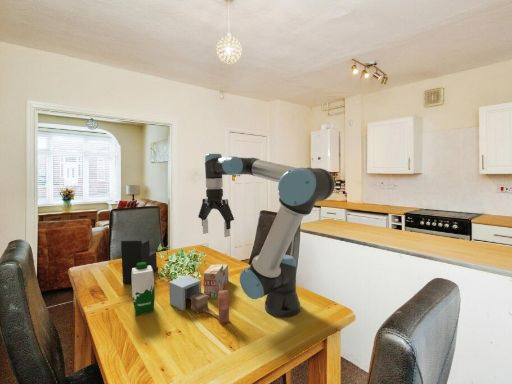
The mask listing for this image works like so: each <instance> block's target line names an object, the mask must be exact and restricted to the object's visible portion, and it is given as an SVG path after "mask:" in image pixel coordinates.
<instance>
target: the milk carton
mask: <svg viewBox="0 0 512 384" xmlns="http://www.w3.org/2000/svg"><path fill="white" fill-rule="evenodd" d="M154 276H155V274H154V273H153V269H152V267H151V265H149V266H147V263H146V262H139V263H137V267H135V268H132V277H131V278H132V284H131V294H132V295H131V296H132V305H133V307H134V308H133V309H134V313H135V315H136V316H140V315H143V314H147V313H152V312H154V311H155V298H156V297H155V296H156V295H155V277H154Z"/></svg>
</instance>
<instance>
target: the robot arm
mask: <svg viewBox="0 0 512 384" xmlns="http://www.w3.org/2000/svg"><path fill="white" fill-rule="evenodd" d="M204 170H205V188H206V189H205V195H206V196H205V197H206V198H202V202H201V203H202V204H201V206H200V210H199V212H198V215H197V216H198V218H199V219H200V220H201V227H202V234H203V235H204V234H209V218H208V216H210V215H209V214H210V213H211V211H212V210H217V211H218V212H219V214H220V215H221V216H222V218H223V220H224V221H223V230H224V231H223V233H224V238H228V237H231V234H230V232H231V231H230V230H231V222H232V221H234V220H235V217H234V214H233V212H232V210H231V208H230V205H229V200H228V198H225V199H223V196H224V189H223V186H224V185H223V183H224V182H223V176H228V175H229V176H234V175H240V176H241V175H249V176H253V177H258V178H261V179H265V180H267V181H270V182H271V181H272V182H275V183H278V184H277V190H278V196H279V198H278V202H279V204H280V206H279V209H278V211H277V213H276V216H275V218H274V219H273V222H272V224H271V226H270V229H269V232H268V234H267V236H266V239H265V241H264V242H263V246H262V248H261V250H260V252H259V254H258V255H256V256H254V257H253V258H252V261H251V263H250V265H249V267H248V268H244V269H243V270H242V271H241V272H240V275H239V284H240V287H241V289H242V291H243V293H244V294H245V295H246V296H247V297H248V298H250V299H251V300H257V299H262V298H263V297H265V296H266V298H265V301H264V310H265V312H267V313H268V314H270V315H271V316H274V317H279V318H289V317H293V316H296V315H298V314H299V313H300V311H301V302H300V299H299V295H298V293H297V264H296V263H297V262H296V259H295V257H294V256H293V255H289V254H286V253H287V251H288V249H289V247H290V245H291V243H292V241H293V239H294V237H295V234H297V231H298V229H299V227H300V225H301V222H302V220H303V219H304V218H305V216H309V215H310V214H311V212H312V210H313V208H314V206H315V204H316V203H317V202H318V203H319V202H322V201H325V200H327V199H328V198H331V196H332V195H333V193H334V192H335V188H336V182H335V179H334V176H333V175H332V174H331V172H330V171H328V170H327V169H324V168H321V167H318V168H317V167H315V168H313V167H294V166H290V165H286V164H281V163H276V162H271V161H267V160H261V159H260V158H258V157H238V156H231V155H230V156H226V157H223V156H222V154H221V153H206V154H205V157H204Z"/></svg>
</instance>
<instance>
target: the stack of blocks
mask: <svg viewBox="0 0 512 384" xmlns="http://www.w3.org/2000/svg"><path fill="white" fill-rule="evenodd" d="M228 282H229V265H228V264H225V263H224V264H222V263H221V264H220V263H219V264H211V265H210V266H209V267H208V268H207V269H206V270H205V271H204V272H203V294H206V295H208V299H214V300H215V299H216V300H217V299H218V292H219V291H220V290H224V288H225V287H226V286H227V284H228Z"/></svg>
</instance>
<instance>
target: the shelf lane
mask: <svg viewBox="0 0 512 384" xmlns="http://www.w3.org/2000/svg"><path fill="white" fill-rule="evenodd" d="M168 288H169V289H168V290H169V292H168V293H169V304H170V305H172V306H173V307H174V308H177V309H179V310H181V311H183V312H184V311H186V299H189V300H191V296H193V295H195V294H197V293H200V292H201V293H202V280H200V279H198V278H196V277H193V276H190V275H185V276H181V277H179V278H175V279H173V280H170V281H168Z"/></svg>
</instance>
